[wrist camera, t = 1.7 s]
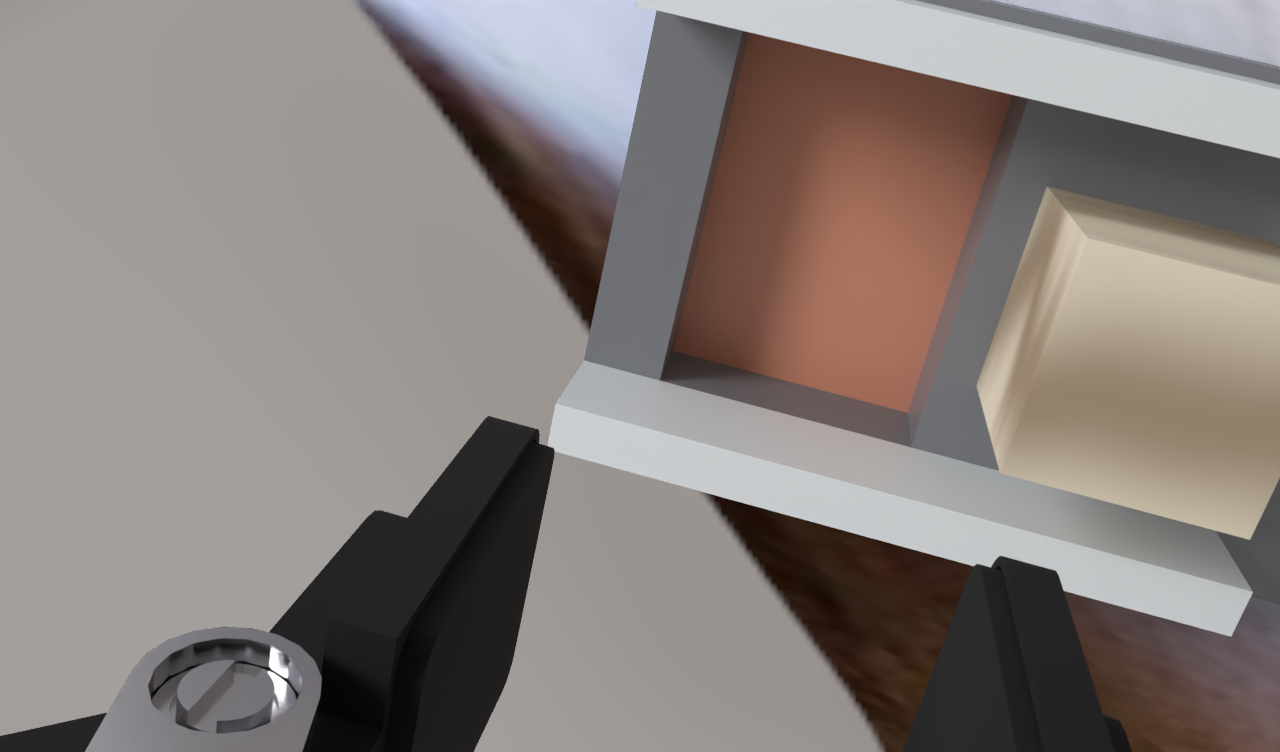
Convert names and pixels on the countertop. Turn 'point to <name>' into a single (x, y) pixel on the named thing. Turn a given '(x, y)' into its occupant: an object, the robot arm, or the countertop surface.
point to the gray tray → (899, 269)
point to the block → (1140, 363)
